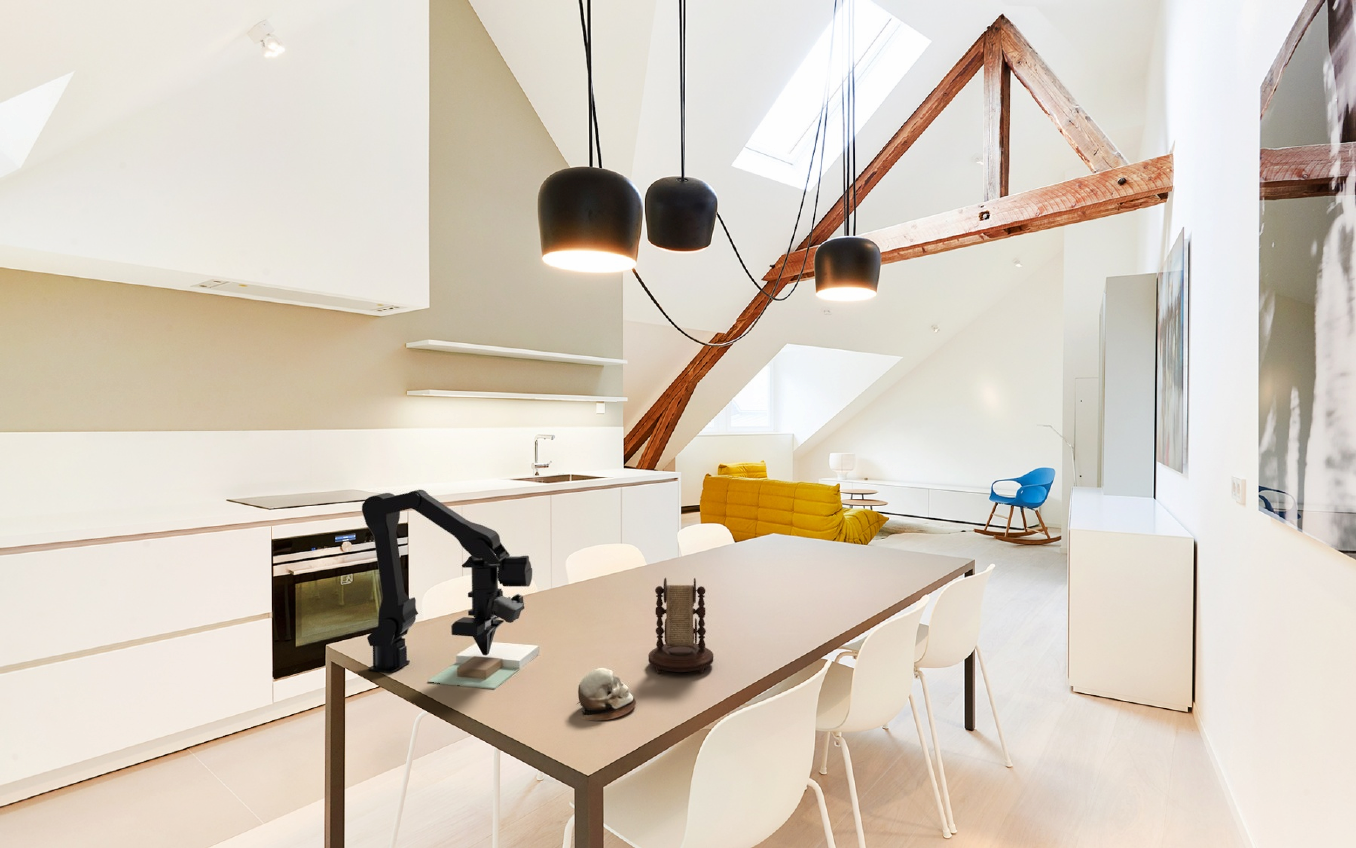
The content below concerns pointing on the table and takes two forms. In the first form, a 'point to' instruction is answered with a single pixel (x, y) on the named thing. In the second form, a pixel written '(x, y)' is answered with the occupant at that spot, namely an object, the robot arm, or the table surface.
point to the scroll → (680, 630)
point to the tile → (479, 667)
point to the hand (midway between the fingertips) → (485, 654)
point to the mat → (491, 683)
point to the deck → (503, 654)
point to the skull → (604, 696)
